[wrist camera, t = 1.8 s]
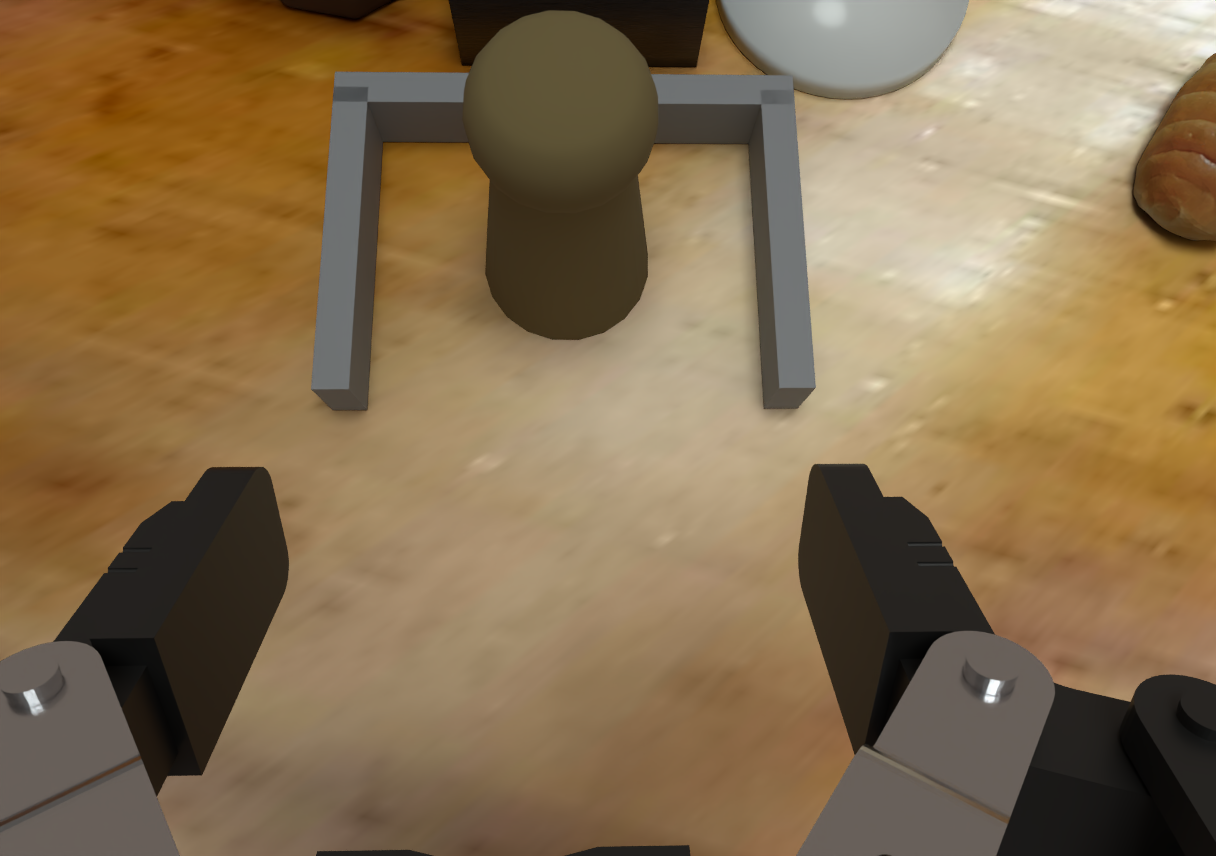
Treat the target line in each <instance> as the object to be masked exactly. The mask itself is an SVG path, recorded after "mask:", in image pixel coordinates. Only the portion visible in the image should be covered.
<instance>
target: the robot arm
mask: <svg viewBox="0 0 1216 856" xmlns="http://www.w3.org/2000/svg"><path fill="white" fill-rule="evenodd" d="M798 566H799V577H800V583H801V588H802V592H803V595H804V598H805V601H806V604H807V607H808V610H809V613H810V616H811V620H812V623H813V626H814V629H815V632H816V635H817V638H818V641H819V645H820V648H821V651H822V654H823V657H824V660H825V663H826V666H827V670H828V673H829V676H830V679H831V682H832V685H833V688H834V691H835V695H836V698H837V701H838V704H839V707H840V710H841V713H842V716H843V720H844V723H845V726H846V729H847V732H848V735H849V738H850V741H851V744H852V748H853V751H854V754H855V756H854V758H853V760H852V761H851V763H850V765H849V766H848V768H847V770H846V772H845V773H844V775H843V777H842V778H841V780H840V782H839V784H838V785H837V787H836V789H835V790H834V792H833V794H832V796H831V797H830V799H829V801H828V802H827V804H826V806H825V808H824V809H823V811H822V813H821V814H820V816H819V818H818V819H817V821H816V823H815V825H814V826H813V828H812V830H811V831H810V833H809V835H808V837H807V838H806V840H805V842H804V843H803V845H802V847H801V849H800V850H799V852H798V854H797V855H796V856H1216V685H1215V684H1212V683H1210V682H1207V681H1204V680H1200V679H1197V678H1193V677H1188V676H1182V675H1159V676H1154V677H1151V678H1149V679H1146V680H1145V681H1143V682H1142V683H1141V684H1140V685H1139V686H1138V688H1137V689H1136V691H1135V693H1134V695H1133V698H1132V700H1131V702H1128V701H1124V700H1119V699H1115V698H1111V697H1106V696H1102V695H1097V694H1093V693H1089V692H1084V691H1080V690H1076V689H1072V688H1068V687H1065V686H1062V685H1059V684H1056V683H1054V682H1053V680H1052V677H1051V675H1050V674H1049V672H1048V670H1047V669H1046V668H1045V666H1044V665H1043V664H1042V663H1041V662H1040V661H1039V660H1038V659H1037V658H1036V657H1035V656H1034V655H1033V654H1032V653H1030V652H1029V651H1028V650H1026V649H1025V648H1023V647H1021V646H1020V645H1018V644H1016V643H1014V642H1012V641H1010V640H1008V639H1006V638H1003V637H1000V636H997V635H995V634H994V632H993V630H992V629H991V627H990V625H989V623H988V622H987V620H986V618H985V616H984V615H983V613H982V611H981V609H980V608H979V606H978V604H977V602H976V601H975V599H974V597H973V595H972V594H971V592H970V590H969V588H968V587H967V585H966V583H965V581H964V579H963V578H962V576H961V574H960V572H959V571H958V569H957V567H954V566H953V560H952V558H951V557H950V555H949V553H948V551H947V550H946V548H945V547H942V541H941V539H940V537H939V536H938V534H937V532H936V530H935V529H934V527H933V525H932V523H931V522H930V520H929V518H928V517H927V516H925V515H924V514H923V513H922V512H921V511H919V510H918V509H917V508H916V507H914V506H913V505H912V504H911V503H909V502H908V501H907V500H906V499H904V498H903V497H883V495H882V493H881V491H880V489H879V487H878V485H877V483H876V481H875V479H874V477H873V476H872V474H871V472H870V470H869V468H868V466H867V465H865V464H814V465H813V467H812V469H811V471H810V475H809V481H808V488H807V495H806V501H805V508H804V515H803V522H802V529H801V536H800V543H799V553H798ZM288 571H289V558H288V550H287V545H286V541H285V537H284V532H283V528H282V524H281V519H280V515H279V510H278V506H277V502H276V497H275V493H274V489H273V484H272V480H271V477H270V475H269V473H268V471H267V470H266V469H265V468H264V467H211V468H209V469H207V470H206V471H205V473H204V474H203V475H202V477H201V478H200V480H199V481H198V483H197V484H196V486H195V487H194V488H193V490H192V491H191V493H190V494H189V496H188V497H187V499H186V500H185V501H172V502H170V503H169V504H167V505H166V506H165V507H163V508H162V509H160V510H159V511H158V512H156V513H155V514H153V515H152V516H150V517H149V518H148V519H146V520H145V521H143V522H142V523H141V524H140V525H139V527H138V528H137V529H136V531H135V532H134V534H133V535H132V536H131V538H130V539H129V540H128V542H127V543H126V544H125V546H124V547H123V553H119V554H118V555H117V556H116V558H115V559H114V561H113V562H112V563H111V565H110V566H109V567H108V573H104V574H103V575H102V577H101V578H100V579H99V581H98V582H97V584H96V585H95V586H94V588H93V589H92V590H91V592H90V593H89V594H88V596H87V597H86V598H85V600H84V601H83V602H82V604H81V605H80V606H79V608H78V609H77V611H76V612H75V613H74V615H73V616H72V617H71V619H70V620H69V621H68V623H67V624H66V625H65V627H64V628H63V629H62V631H61V632H60V633H59V635H58V636H57V638H56V639H55V640H54V642H51V643H45V644H41V645H37V646H34V647H31V648H28V649H25V650H22V651H20V652H18V653H16V654H13V655H11V656H9V657H8V658H6V659H4V660H2V661H0V856H180V855H179V852H178V850H177V847H176V845H175V842H174V840H173V837H172V835H171V832H170V830H169V827H168V825H167V822H166V820H165V817H164V814H163V812H162V809H161V807H160V804H159V802H158V799H157V795H158V793H159V791H160V789H161V787H162V785H163V783H164V781H165V779H166V777H167V776H187V775H202V774H203V772H204V770H205V767H206V765H207V763H208V761H209V759H210V756H211V754H212V752H213V750H214V748H215V745H216V743H217V741H218V739H219V736H220V734H221V732H222V730H223V728H224V725H225V723H226V721H227V719H228V716H229V714H230V712H231V710H232V708H233V705H234V703H235V701H236V699H237V697H238V694H239V692H240V690H241V688H242V685H243V683H244V681H245V679H246V677H247V674H248V672H249V670H250V668H251V665H252V663H253V661H254V659H255V657H256V654H257V652H258V650H259V648H260V646H261V643H262V641H263V639H264V637H265V634H266V632H267V630H268V628H269V626H270V623H271V621H272V619H273V617H274V614H275V612H276V610H277V608H278V606H279V603H280V601H281V599H282V597H283V594H284V592H285V589H286V585H287V580H288ZM316 856H432V855H428V854H424V853H420V852H416V851H412V850H373V851H317V854H316ZM566 856H690V849H689V845H682V846H620V847H596V848H592V849H588V850H584V851H581V852H577V853H573V854H569V855H566Z"/></svg>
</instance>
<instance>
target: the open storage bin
mask: <svg viewBox="0 0 1216 856" xmlns="http://www.w3.org/2000/svg"><path fill="white" fill-rule="evenodd" d="M449 4H450V9H451V14H452V19H453V23H454V28H455V33H456V38H457V43H458V48H459V53H460V57H461V62H462V65H473V62H474V60H475V58H476V56H477V54H478V53H479V52H480V51H481V50H482V49H483V48H484V47H485V46H486V45H487V43H488V42H489V41H490V40H491V39H492V38H493V37H494V36H495V35H496V34H497V33H498V32H499V31H500V30H501V29H502V28H504V27H506V26H508V25H509V24H511V23H513V22H514V21H516V20H518V19H520V18H521V17H524V16H528V15H532V14H536V13H540V12H544V11H548V10H554V11H576V12H580V13H583V14H586V15H590V16H593V17H596V18H600V19H601V20H603V21H604V22H606V23H608V24H609V25H611V26H612V27H614V28H615V29H617V30H618V31H620V32H621V33H623V34H624V35H625V36H626V37H627V38H628V39H629V40H630V41H631V43H632V44H633V45H634V46H635V47H636V49H637V50H638V51H639V52H640V53H641V55H642V56H643V57H644V58H645V59H646V62H647V65H648V67H696V65H697V60H698V55H699V50H700V45H701V40H702V35H703V29H704V24H705V19H706V14H707V9H708V4H709V0H449Z"/></svg>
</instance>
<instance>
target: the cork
mask: <svg viewBox="0 0 1216 856" xmlns="http://www.w3.org/2000/svg"><path fill="white" fill-rule="evenodd" d="M462 120H463V124H464V128H465V132H466V135H467V138H468V142H469V145H470V148H471V151H472V154H473V157H474V159H475V161H476V162H477V163H478V165H479V166H480V167H481V169H482V170H483V171H484V172H485V174H486V175H487V176H488V178H489V179H490V186H489V207H488V227H487V248H486V271H485V274H486V277H487V281H488V284H489V287H490V290H491V294H492V297H493V298H494V300H495V301H496V302H497V304H498V305H499V306H500V308H501V309H502V310H503V312H504V313H505V315H506V316H507V317H508V318H510V319H511V320H512V321H514V322H515V323H517V324H518V325H520V326H521V327H522V328H524V329H525V330H527V331H528V332H531V333H534V334H538V335H541V336H544V337H547V338H550V339H564V340H579V339H583V338H586V337H590V336H593V335H597V334H600V333H603V332H605V331H607V330H608V329H610V328H611V327H613V326H614V325H616V324H617V323H619V322H620V321H622V320H623V319H625V317H626V316H627V315H628V314H629V312H630V311H631V310H632V308H633V307H634V306H635V305H636V303H637V302H638V301H639V300H640V297H641V294H642V292H643V289H644V286H645V283H646V280H647V277H648V253H647V245H646V237H645V229H644V221H643V213H642V205H641V197H640V190H639V182H638V174H639V173H640V171H641V170H642V169H643V167H644V166H645V164H646V163H647V161H648V158H649V155H650V152H651V149H652V147H653V144H654V141H655V138H656V135H657V129H658V94H657V90H656V87H655V83H654V81H653V78H652V75H651V73H650V70H649V67H648V65H647V62H646V59H645V58H644V57H643V56H642V55H641V53H640V52H639V51H638V50H637V49H636V47H635V46H634V45H633V44H632V43H631V41H630V40H629V39H628V38H627V37H626V36H625V35H624V34H623V33H621V32H620V31H618V30H617V29H615V28H614V27H612V26H611V25H609V24H608V23H606V22H604V21H603V20H601V19H600V18H596V17H593V16H590V15H586V14H583V13H580V12H576V11H554V10H548V11H544V12H540V13H536V14H532V15H528V16H524V17H521V18H520V19H518V20H516V21H514V22H513V23H511V24H509V25H508V26H506V27H504V28H502V29H501V30H500V31H499V32H498V33H497V34H496V35H495V36H494V37H493V38H492V39H491V40H490V41H489V42H488V43H487V45H486V46H485V47H484V48H483V49H482V50H481V51H480V52H479V53H478V54H477V56H476V58H475V60H474V62H473V65H472V67H471V69H470V72H469V74H468V76H467V79H466V83H465V88H464V97H463V116H462Z"/></svg>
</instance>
